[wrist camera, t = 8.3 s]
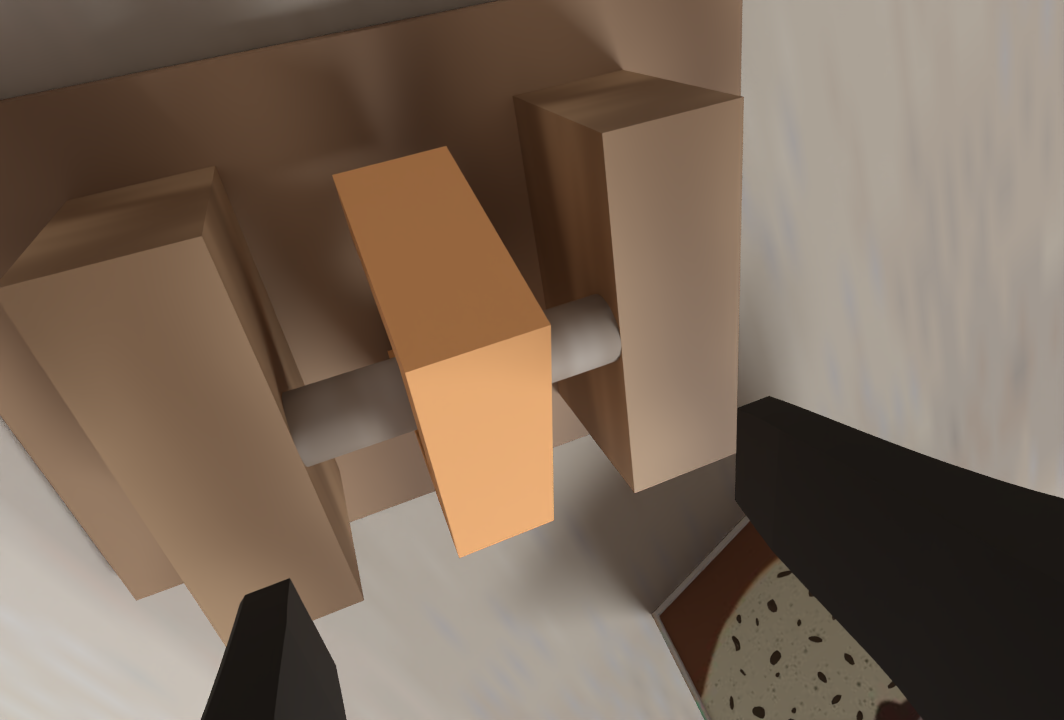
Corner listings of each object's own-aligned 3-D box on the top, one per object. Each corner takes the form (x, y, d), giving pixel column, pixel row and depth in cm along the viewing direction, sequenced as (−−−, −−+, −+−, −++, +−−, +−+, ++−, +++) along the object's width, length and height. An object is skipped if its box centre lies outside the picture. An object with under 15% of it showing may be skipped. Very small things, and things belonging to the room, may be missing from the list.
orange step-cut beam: (397, 385, 19) (459, 558, 15) (332, 174, 13) (405, 373, 10) (478, 358, 19) (553, 520, 16) (446, 145, 14) (550, 324, 11)
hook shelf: (139, 580, 20) (105, 769, 15) (-177, 135, 13) (-430, 224, 8) (721, 370, 24) (837, 464, 19) (724, -45, 17) (906, -57, 12)
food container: (703, 665, 33) (851, 886, 25) (629, 637, 30) (772, 882, 22) (879, 487, 31) (1100, 664, 23) (821, 436, 28) (1057, 621, 20)
